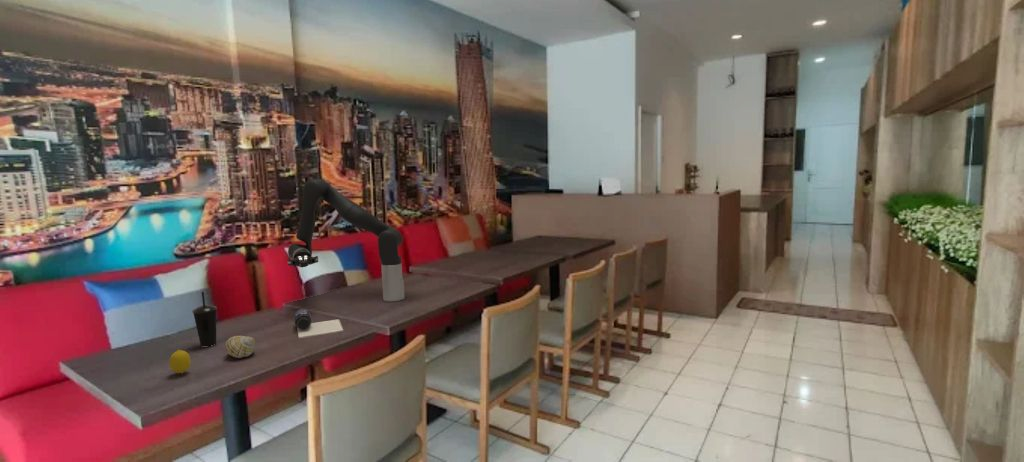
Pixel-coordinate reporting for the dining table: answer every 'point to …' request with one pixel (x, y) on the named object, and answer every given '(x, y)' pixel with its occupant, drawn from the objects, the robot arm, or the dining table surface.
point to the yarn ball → (240, 346)
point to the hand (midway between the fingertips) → (304, 264)
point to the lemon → (180, 361)
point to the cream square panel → (321, 328)
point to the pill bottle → (302, 319)
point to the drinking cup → (206, 323)
